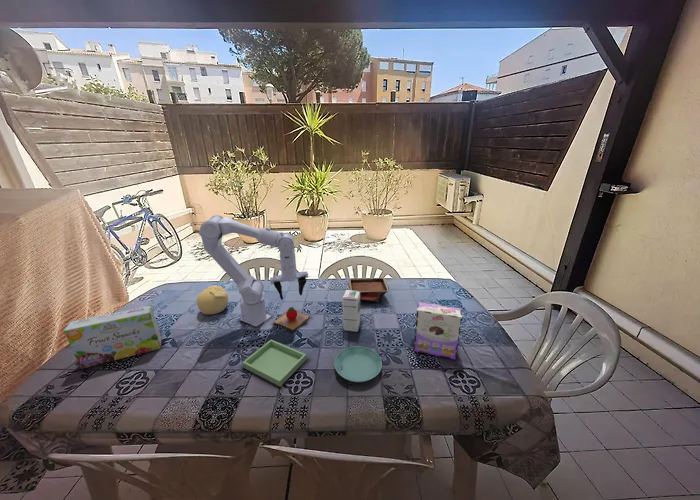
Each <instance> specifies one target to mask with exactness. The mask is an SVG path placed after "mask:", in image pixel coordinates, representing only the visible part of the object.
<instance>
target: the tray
mask: <svg viewBox="0 0 700 500" xmlns="http://www.w3.org/2000/svg"><path fill="white" fill-rule="evenodd" d="M306 361H307V354H306V353H304V352H302V351H299V350H297V349H295V348H292V347H291V346H288V345H285V344H283V343H282V342H278V341H276V340H273V339H270V340H268V341H267V342H266V343H265V344H263V345H262V346H261V347H260V348H258V349H256V350H255V352H253V353H252V354H250V356H248V357H247V358H245V359H244V360H243V361H242V362H241V363H242V368H243V369H245V370H247V371H249V372H251V373H253V374H255V375H257V376H259V377H260V378H263V379H264V380H266V381H269V382H270V383H272V384H274V385H276V386H278V387H280V388H282V386H283V385H284V384H285V383H286V382H287V380H288V379H290V378H291V376H292V375H293V374H295V372H297V370H298V369H300V367H301V366H302V365H303V364H304V363H305V362H306Z"/></svg>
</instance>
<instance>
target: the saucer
mask: <svg viewBox="0 0 700 500" xmlns="http://www.w3.org/2000/svg"><path fill="white" fill-rule="evenodd" d="M333 363H334V364H333V365H334V369H335V371H336V372H337V374H338V375H339V376H340V377H341V378H342V379H344V380H346V381H348V382H351V383H355V384H357V383H358V384H359V383H360V384H361V383H365V382H370V381H371V380H373V379H375V378H376V377H377V376H378V375H379V374H380V372H381V371H382V368H383V362H382V358H381V356H380V355H379V353H377V352H376V351H375V350H373V349H372V348H369V347H366V346H361V345H355V346H353V345H352V346H350V347H346V348H344V349H342V350H341V351H339V353H337V355H336V357H335V359H334V362H333Z"/></svg>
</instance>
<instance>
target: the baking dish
mask: <svg viewBox="0 0 700 500" xmlns="http://www.w3.org/2000/svg"><path fill="white" fill-rule="evenodd" d="M347 285H348V288H349V289H348V290H355V291H360V302H362V301H368V302H377V303H379V304H381V303H382V299H383V297H384V296H385V295H386V293H388V292H389V290H390V287H389V285H388V283H387V281H386V279H385V278H383V277H370V278H369V277H368V278H366V277H365V278H350V279H349V280H348V284H347Z"/></svg>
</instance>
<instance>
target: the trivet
mask: <svg viewBox="0 0 700 500" xmlns="http://www.w3.org/2000/svg"><path fill="white" fill-rule="evenodd" d="M309 319H311V318H310V315H309V314H308V315H307V314H305V313H302V312H299V311H297V317H296V319H295V320H294V321H289V320H288V318H287V317H286V312H285V313H284V314H282V315H281V316H280V317H278V318H277V319H276V320H274V321H273V323H274V324H277V325H279V326H282V327H283V328H286V329H289V330H292V331H295V330H296V329H297V328H298V327H300V326H302V325H303V324H304V323H305V322H307V321H308V320H309Z"/></svg>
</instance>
